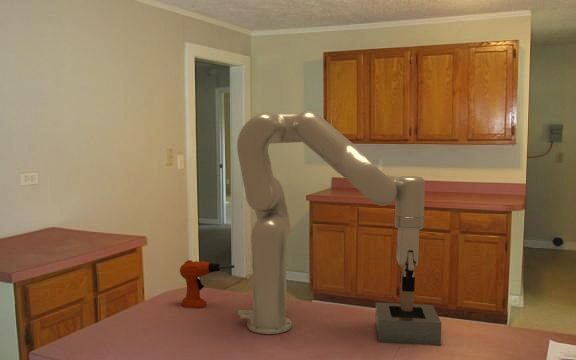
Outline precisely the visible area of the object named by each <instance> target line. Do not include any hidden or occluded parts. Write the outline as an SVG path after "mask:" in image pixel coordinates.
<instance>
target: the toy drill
mask: <svg viewBox="0 0 576 360" xmlns="http://www.w3.org/2000/svg"><path fill="white" fill-rule="evenodd" d="M234 268H235V265H234V264H226V265H220V263H212V262H207V261H203V260H202V261H197V260H196V261H193V260H191V259H188V260H186V261H185V262H184V263H183V264H182V265H181V266H180V268H179V273H180V276H181V277H182V278H183V279H185V282H186V295H185V297H183V298H182V304H181V305H182V307H184V306H185V307H186V308H190V307H191V308H190V309H192V308H193V309H202V308H204V307H206V306H207V301H206V300H204V299H203V298H202V297H201V293H200V291H202V289H203V288H204V287H205V285H204V284H202V282H201V281H202V280H201V279H200V278H201V277H204V276H207V275H209V274H212V273H216V272H217V273H218V272H220V271H221V270H224V269H234Z"/></svg>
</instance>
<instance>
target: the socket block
mask: <svg viewBox="0 0 576 360" xmlns="http://www.w3.org/2000/svg"><path fill="white" fill-rule="evenodd" d="M400 305H401V303H397V302H396V303H394V302H393V303H391V302H375V319H374V320H375V321H374V322H375V328H376V335H377V342H378V343H386V344H387V343H388V344H408V345H425V346H427V345H429V346H441V345H442V321H441V319H440V316H439V315H438V314H437V311H436V309H435V307H434V305H433V304H419V303H418V304H416V303H413V310H412V311H410V312H408V311H406V312H405V311H403V310H401V306H400Z"/></svg>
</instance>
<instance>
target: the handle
mask: <svg viewBox="0 0 576 360" xmlns="http://www.w3.org/2000/svg"><path fill="white" fill-rule="evenodd" d="M413 263H414V259H413ZM415 263H416V261H415ZM405 265H408V262H405ZM406 269H408V267H406ZM402 276H404V265H402V272H401V271H400V277H401V283H399V285H400V286H399V300H400V304H401V305H400V306H401V310H403V311H405V312H406V311H408V312H410V311H412V310H413V304H415V303H414V302H415V293H416V292H415V289H414V292H409V291H402Z"/></svg>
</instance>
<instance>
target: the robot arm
mask: <svg viewBox="0 0 576 360" xmlns="http://www.w3.org/2000/svg"><path fill="white" fill-rule="evenodd" d="M284 143H286V144H289V143H292V144H293V143H304V145H306V147H308V148H309V149H311V150H312V152H314V153H315V154H316V155H317V156H319V158H321V159H322V160H323V161H324V162H325V163H326V164H327V165H329V166H330V167H331V168H332V169H334V171H336V173H338V174H339V175H341V176H342V177H343V178H344V179H345V180H347V182H348V183H350V184H351V185H352V186H353V187H354V188H356V189H357V190H358V191H359V192H360V193H361V194H362V195H363V196H364V197H366V198H367V199H369V201H371V202H372V203H373V204H375V205H378V206H388V205H390V204H392V203H393V202H394V201H395V202H394V203H395V204H394V205H395V206H394V207H395V210H394V211H395V212H394V228H396V229H397V235H396V237H397V241H396V256H395V257H396V261H397V263H398V265H399V266H400V267H401V268H400V269H401V271H400V273H401V272H402V265H404V276H402V291H409V292H414V289H415V288H416V287H415V286H416V285H415V284H416V277H415V269H416V268H415V267H417V266H418V264H419V251H420V249H419V248H420V247H419V245H420V230H423V229H424V222H425V221H424V219H425V217H424V216H425V194H426V193H425V192H426V191H425V186H426V185H425V184H426V183H425V179H424V178H423V177H422V176H416V175H403V176H402V175H401V176H395V175H389V174H388V175H387V174H386V173H384V172H383V171H382V170H381V169H379V168H378V167H377V166H376V165H375V164H374V163H372V162H371V161H370V160H369V159H368V158H367V157H366V156H365V155H364V154H363V153H362V152H361V151H360V149H359V148H358V147H357V146H356V145H355V144H354V143H353V142H352V141H350V140H349V139H348V138H347V137H345V135H344V134H342V132H340V131H339V130H338V129H336V128H335V127H334V126H333V125H332V124H331V123H330V122H328V121H327V120H326V119H325V118H324V117H322V115H320V114H319V113H318V112H315V111H313V110H305V111H303V112H300V113H299V112H297V113H296V112H295V113H275V114H274V113H272V112H271V113H270V112H261V113H257V114H256V115H253V116H252V117H251V118H250V119H248V121H246V122H245V123H244V124H243V126H242V127H241V129H240V132H239V133H238V137H237V142H236V144H237V145H236V149H237V157H238V161H239V167H240V172H241V177H242V178H241V179H242V183H243V187H244V193H245V198H246V199H245V200H246V202H247V204H248V206H249V207H250V208H251V209H252V210H254V212H255V216H256V220H257V221H256V222H255V223H254V224H253V228H252V230H251V234H250V245H251V254H252V256H251V257H252V309H249V310H245V309H238V310H237V317H239V318H240V319H239V320H248V321H247V322H246V324H247V325H246V328H247V329H248V330H249V331H251V332H253V333H256V334H260V335H279V334H282V333H284V332H287V331H289V330H290V329H292V326H293V325H292V320H291V319H290V318H289V317H287V274H288V273H287V238H288V236H289V234H290V231H291V221H290V216H289V212H288V208H287V207H288V206H287V201H286V197H285V193H284V189H283V186H282V184H281V182H280V181H279V180H278V179H277V178H276V177H274V173H273V169H272V162H271V158H270V156H269V146H270V144H272V145H273V144H284ZM413 259H414V263H413ZM415 261H416V263H415ZM405 262H408V265H405ZM406 267H408V269H406ZM399 277H400V280H399V281H400V283H401V276H399ZM400 283H399V284H400ZM414 293H415V292H414Z"/></svg>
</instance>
